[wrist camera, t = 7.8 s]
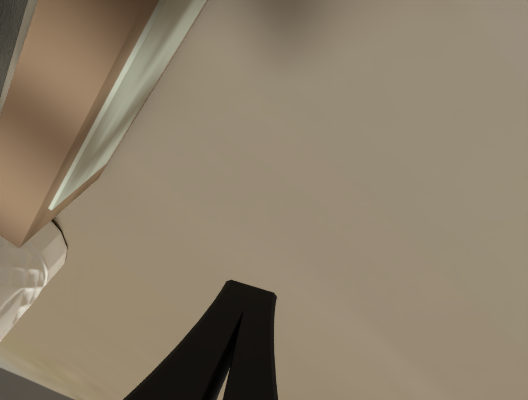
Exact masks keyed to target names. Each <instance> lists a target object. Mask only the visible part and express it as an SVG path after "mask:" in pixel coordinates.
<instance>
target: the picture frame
mask: <svg viewBox="0 0 528 400" xmlns="http://www.w3.org/2000/svg"><path fill="white" fill-rule="evenodd" d="M207 1H208V0H38V2H37V5H36V8H35V11H34V15H33V18H32V21H31V24H30V27H29V30H28V33H27V36H26V39H25V42H24V45H23V48H22V51H21V54H20V57H19V60H18V63H17V67H16V70H15V73H14V76H13V79H12V82H11V85H10V88H9V91H8V94H7V97H6V100H5V103H4V106H3V109H2V112H1V116H0V236H1V237H3V238H4V239H6V240H7V241H9V242H10V243H12V244H13V245H15V246H17V247H18V248H20V247H21V246H22V245H24V244H25V243H26V242H27V241H28V240H29V239H30V238H31V237H33V236H34V235H35V234H36V233H37V232H38V231H39V230H41V229H42V228H43V227H44V226H45V225H46V224H47V223H48V222H50V221H51V220H52V219H53V218H54V217H55V216H56V215H57V214H59V213H60V212H61V211H62V210H63V209H64V208H65V207H67V206H68V205H69V204H70V203H71V202H72V201H73V200H74V199H76V198H77V197H78V196H79V195H80V194H81V193H82V192H83V191H85V190H86V189H87V188H88V187H89V186H90V185H91V184H93V183H94V182H95V181H96V180H97V179H98V178H99V176H100V175H101V173H102V172H103V170H104V168H105V167H106V165H107V163H108V162H109V160H110V159H111V157H112V155H113V154H114V152H115V151H116V149H117V147H118V146H119V144H120V142H121V141H122V139H123V138H124V136H125V134H126V133H127V131H128V129H129V128H130V126H131V125H132V123H133V121H134V120H135V118H136V116H137V115H138V113H139V112H140V110H141V108H142V107H143V105H144V103H145V102H146V100H147V99H148V97H149V95H150V94H151V92H152V91H153V89H154V87H155V86H156V84H157V82H158V81H159V79H160V78H161V76H162V74H163V73H164V71H165V69H166V68H167V66H168V65H169V63H170V61H171V60H172V58H173V56H174V55H175V53H176V52H177V50H178V48H179V47H180V45H181V43H182V42H183V40H184V39H185V37H186V35H187V34H188V32H189V31H190V29H191V27H192V26H193V24H194V22H195V21H196V19H197V18H198V16H199V14H200V13H201V11H202V9H203V8H204V6H205V5H206V3H207Z"/></svg>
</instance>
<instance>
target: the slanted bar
mask: <svg viewBox="0 0 528 400" xmlns="http://www.w3.org/2000/svg"><path fill="white" fill-rule="evenodd" d="M26 4H27V0H0V95H1V92H2V88H3V85H4V81H5V78H6V74H7V71H8V67H9V64H10V60H11V57H12V53H13V50H14V46H15V43H16V39H17V36H18V32H19V28H20V25H21V21H22V18H23V14H24V11H25V7H26Z"/></svg>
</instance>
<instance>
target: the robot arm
mask: <svg viewBox="0 0 528 400" xmlns="http://www.w3.org/2000/svg"><path fill="white" fill-rule="evenodd" d="M276 299H277V296H276V295H275V294H274V293H273V292H270V291H266V290H263V289H260V288H256V287H253V286H250V285H247V284H243V283H240V282H237V281H233V280H229V281H226V283H225V285H224V287H223V288H222V290H221V291H220V293H219V294H218V296H217V297H216V299H215V300H214V302H213V303H212V304H211V306H210V307H209V308H208V310H207V311H206V312H205V313H204V315H203V316H202V317H201V319H200V320H199V321H198V322H197V323H196V325H195V326H194V327H193V328H192V329H191V330H190V332H189V333H188V334H187V335H186V336H185V337H184V339H183V340H182V341H181V342H180V343H179V344H178V345H177V346H176V348H175V349H174V350H173V351H172V352H171V353H170V354H169V355H168V356H167V357H166V358H165V359H164V360H163V361H162V362H161V363H160V364H159V365H158V366H157V367H156V368H155V370H154V371H153V372H152V373H151V374H150V375H148V376H147V377H146V378H145V379H144V380H143V381H142V382H141V383H140V384H139V385H138V386H137V387H136V388H135V389H134V390H133V391H132V392H131V393H130V394H129V395H127V396H126V397H125V398H124V399H123V400H217V397H218V395H219V392H220V390H221V388H222V385H223V383H224V380H225V378H226V376H227V373H228V371H229V374H228V379H227V383H226V388H225V392H224V397H223V400H278V395H277V385H276V372H275V357H274V315H275V305H276ZM229 368H230V370H229Z"/></svg>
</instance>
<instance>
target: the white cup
mask: <svg viewBox="0 0 528 400" xmlns="http://www.w3.org/2000/svg"><path fill="white" fill-rule="evenodd" d="M66 254H67V246H66V244H65V241H64V238H63V236H62V233H61V231H60V230H59V229H58V228H57V227H56V225H55V224H54V223H53V222H52V221H50V222H48V223H47V224H46V225H45V226H44V227H43V228H42V229H41V230H39V231H38V232H37V233H36V234H35V235H34V236H33V237H31V238H30V239H29V240H28V241H27V242H26V243H25V244H24V245H22V246H21V247H20V248H18V247H17V246H15V245H13V244H12V243H10V242H9V241H7V240H6V239H4V238H3V237H1V236H0V342H1V341H2V339H3V338H4V337H5V336H6V335H7V334H8V332H9V331H10V330H11V329H12V328H13V326H14V325H15V324H16V323H17V322H18V320H19V319H20V317H21V316H22V314H23V313H24V312H25V311H26V310H27V309H28V308H29V307H30V305H31V304H32V303H33V302H34V301H35V299H36V298H37V296H38V295H39V293H40V291H41V290H42V288H43V287H44V286H45V285H46V284H47V283H48V282H49V281H50V279H51V278H52V277H53V276H54V275H55V274H56V272H57V271H58V270H59V269H60V268H61V267H62V266H63V264H64V263H65V259H66Z"/></svg>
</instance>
